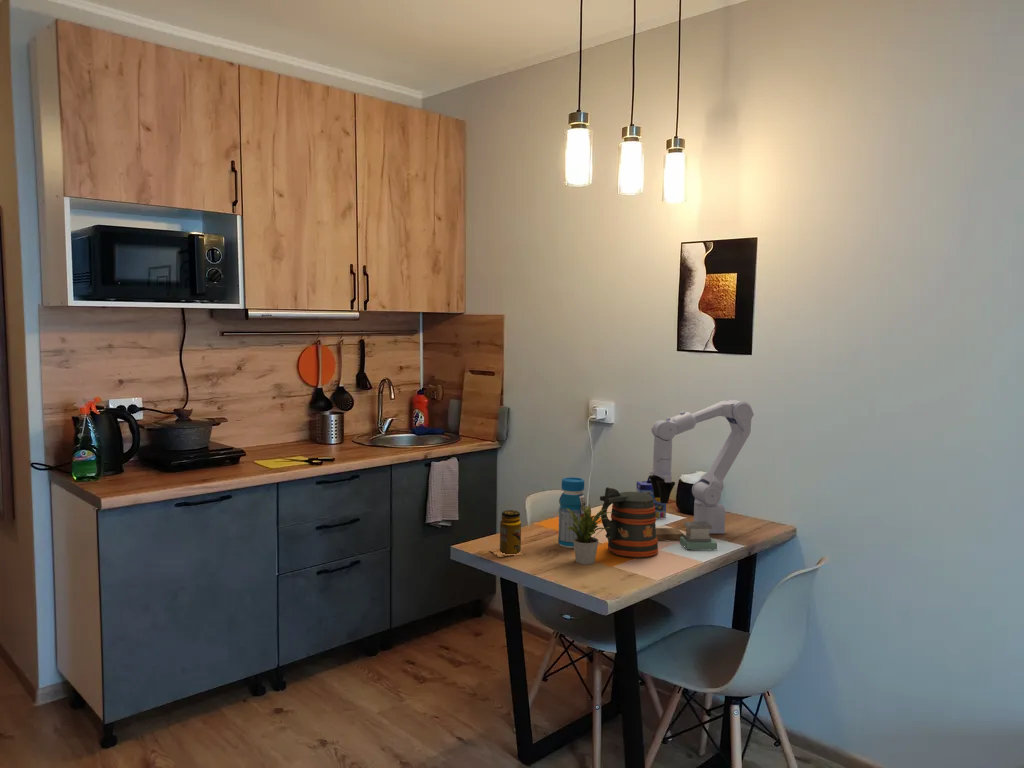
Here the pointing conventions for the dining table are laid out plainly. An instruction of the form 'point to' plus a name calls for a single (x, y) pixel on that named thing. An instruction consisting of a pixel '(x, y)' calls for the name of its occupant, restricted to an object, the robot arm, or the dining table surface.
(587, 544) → the house plant
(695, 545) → the stand
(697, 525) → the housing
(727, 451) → the robot arm
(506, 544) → the condiment
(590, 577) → the dining table surface
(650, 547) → the beer stein
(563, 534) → the beverage bottle
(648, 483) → the ink cartridge box
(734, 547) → the dining table surface
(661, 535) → the stand
